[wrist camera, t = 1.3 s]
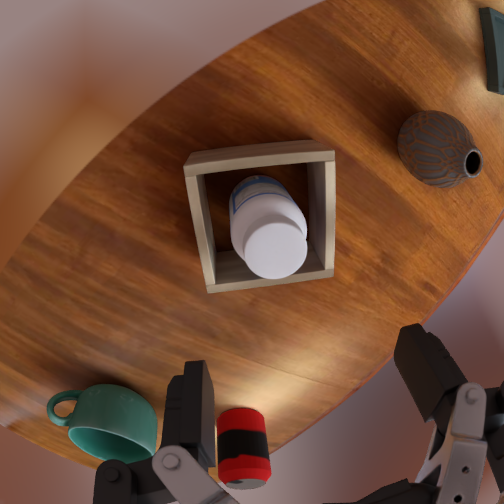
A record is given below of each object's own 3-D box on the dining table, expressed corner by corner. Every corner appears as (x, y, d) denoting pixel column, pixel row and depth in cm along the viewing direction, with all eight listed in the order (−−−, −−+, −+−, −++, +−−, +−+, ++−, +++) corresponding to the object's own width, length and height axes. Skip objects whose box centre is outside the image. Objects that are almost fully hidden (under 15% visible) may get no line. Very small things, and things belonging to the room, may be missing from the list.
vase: (434, 102, 24) (495, 113, 16) (444, 165, 27) (500, 192, 19) (379, 114, 24) (436, 127, 16) (393, 182, 27) (445, 216, 20)
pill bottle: (279, 234, 29) (302, 296, 21) (223, 224, 28) (223, 284, 20) (295, 180, 27) (329, 222, 18) (236, 166, 26) (242, 204, 17)
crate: (191, 152, 25) (182, 166, 20) (314, 139, 25) (335, 150, 20) (209, 260, 30) (207, 293, 25) (316, 246, 30) (333, 276, 25)
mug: (174, 396, 40) (169, 452, 32) (142, 426, 44) (136, 472, 36) (70, 346, 34) (47, 400, 26) (55, 385, 39) (38, 431, 30)
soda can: (241, 401, 42) (247, 473, 31) (273, 417, 45) (283, 481, 34) (207, 419, 44) (207, 484, 33) (239, 433, 47) (244, 493, 36)
